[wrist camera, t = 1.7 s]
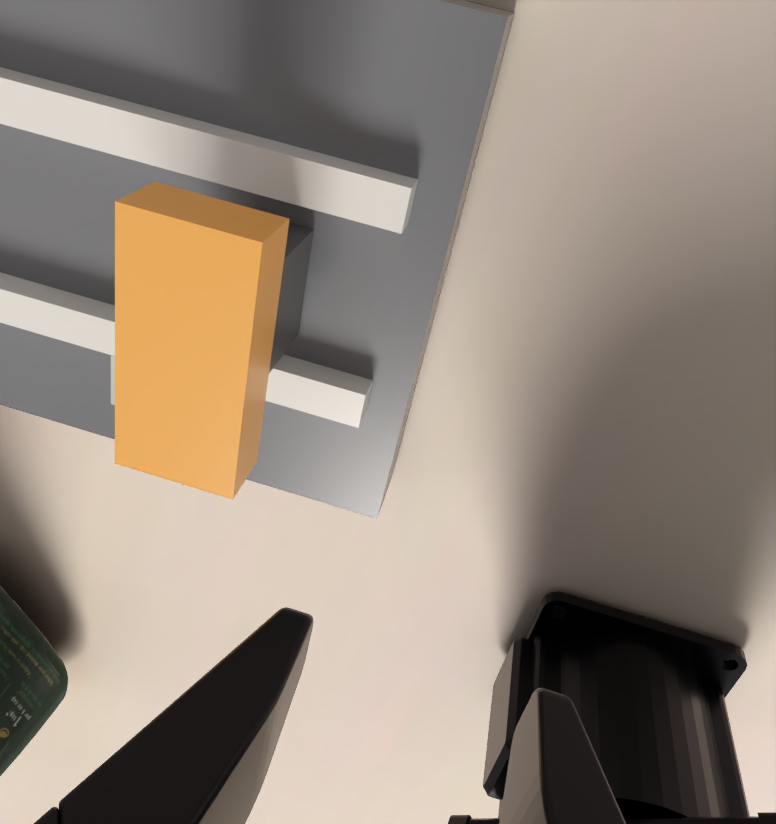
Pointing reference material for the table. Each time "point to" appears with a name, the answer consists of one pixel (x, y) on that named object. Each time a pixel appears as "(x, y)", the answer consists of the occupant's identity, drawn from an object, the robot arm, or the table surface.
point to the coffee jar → (25, 680)
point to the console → (245, 195)
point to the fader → (200, 331)
